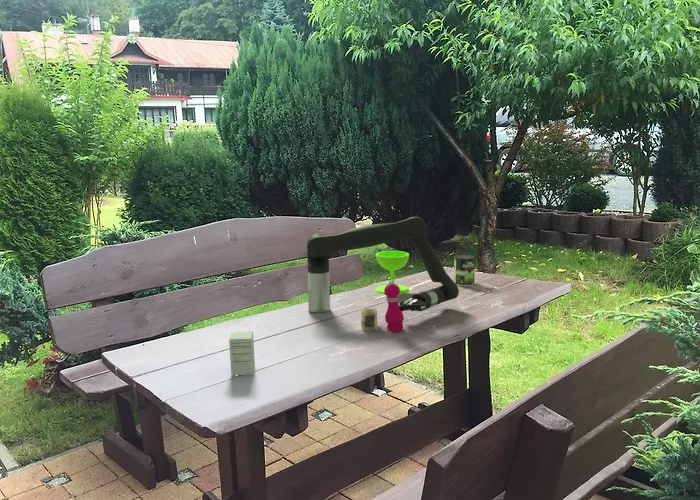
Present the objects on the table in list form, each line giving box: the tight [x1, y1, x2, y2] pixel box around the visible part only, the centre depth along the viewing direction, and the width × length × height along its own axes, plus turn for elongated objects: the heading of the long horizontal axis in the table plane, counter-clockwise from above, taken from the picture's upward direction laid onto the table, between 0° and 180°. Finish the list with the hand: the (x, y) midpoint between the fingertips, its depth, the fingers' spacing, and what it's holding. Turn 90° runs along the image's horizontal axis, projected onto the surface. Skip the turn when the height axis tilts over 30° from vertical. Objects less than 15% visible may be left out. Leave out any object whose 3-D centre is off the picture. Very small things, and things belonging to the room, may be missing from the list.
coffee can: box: [453, 254, 476, 287], centre depth 308 cm, size 10×10×14 cm
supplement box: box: [228, 330, 256, 376], centre depth 200 cm, size 7×7×13 cm
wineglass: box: [375, 250, 410, 295], centre depth 297 cm, size 16×16×18 cm
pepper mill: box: [384, 280, 405, 333], centre depth 238 cm, size 7×7×20 cm
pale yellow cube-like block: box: [360, 308, 378, 331], centre depth 243 cm, size 6×6×7 cm
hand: (399, 309), depth 241 cm, fingers closed
